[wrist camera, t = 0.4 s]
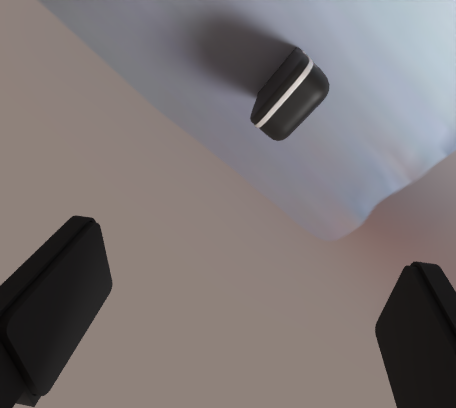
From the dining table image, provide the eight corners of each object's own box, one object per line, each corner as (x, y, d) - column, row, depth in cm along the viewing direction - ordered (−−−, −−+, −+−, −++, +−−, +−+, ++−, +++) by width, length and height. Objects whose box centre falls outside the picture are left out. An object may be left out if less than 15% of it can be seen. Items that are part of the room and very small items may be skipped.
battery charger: (279, 117, 36) (278, 153, 27) (255, 96, 36) (245, 126, 26) (323, 68, 33) (341, 90, 23) (298, 43, 32) (305, 55, 23)
